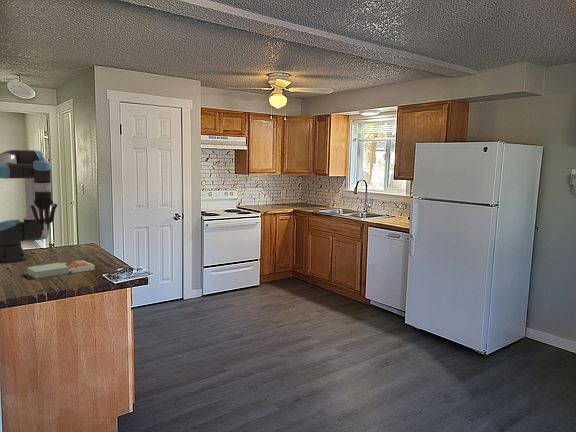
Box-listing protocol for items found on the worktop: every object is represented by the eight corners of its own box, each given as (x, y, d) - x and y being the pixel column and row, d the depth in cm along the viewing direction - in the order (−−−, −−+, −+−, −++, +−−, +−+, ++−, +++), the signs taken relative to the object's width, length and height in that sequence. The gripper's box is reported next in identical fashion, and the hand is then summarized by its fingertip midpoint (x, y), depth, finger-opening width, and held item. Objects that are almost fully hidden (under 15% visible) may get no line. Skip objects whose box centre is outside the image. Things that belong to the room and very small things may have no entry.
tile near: (69, 268, 238) (64, 265, 236) (74, 261, 240) (70, 258, 238) (72, 270, 235) (67, 267, 233) (77, 263, 237) (73, 260, 235)
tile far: (82, 261, 243) (82, 266, 243) (73, 262, 240) (74, 267, 240) (85, 262, 240) (85, 267, 240) (76, 263, 236) (77, 269, 237)
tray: (59, 268, 240) (59, 263, 240) (82, 264, 249) (82, 260, 249) (71, 273, 229) (70, 269, 229) (94, 269, 239) (94, 265, 238)
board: (27, 273, 227) (26, 267, 227) (59, 268, 239) (59, 262, 238) (36, 278, 218) (35, 272, 218) (69, 273, 230) (68, 266, 230)
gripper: (31, 192, 215) (33, 238, 219) (59, 191, 225) (61, 235, 228) (26, 191, 220) (28, 236, 224) (53, 190, 230) (55, 233, 233)
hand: (45, 236), depth 226 cm, fingers closed
